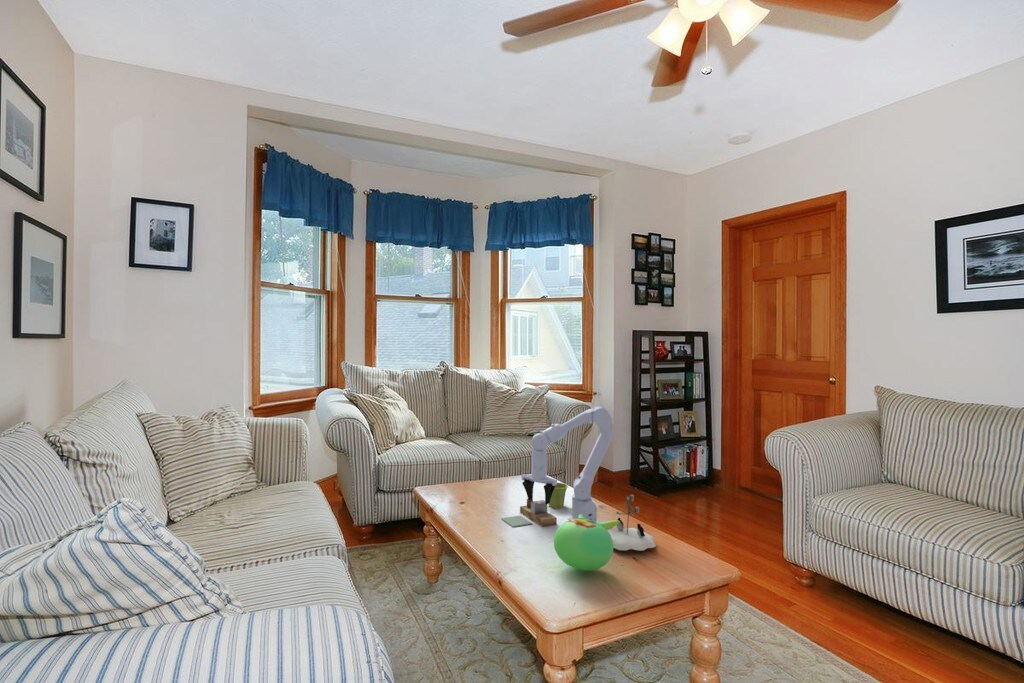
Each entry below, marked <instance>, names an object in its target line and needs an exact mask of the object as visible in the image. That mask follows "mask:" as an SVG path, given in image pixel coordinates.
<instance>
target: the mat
mask: <svg viewBox="0 0 1024 683" xmlns="http://www.w3.org/2000/svg"><path fill="white" fill-rule="evenodd" d="M501 521H503V522H504V523H506V524H507V525H509V526H510V527H511V528H517V527H525V526H529V525H533V522H531V521H530V520H528V518H525V517H523V516H522V515H514V516H507V517H501Z"/></svg>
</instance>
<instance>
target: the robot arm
mask: <svg viewBox="0 0 1024 683" xmlns="http://www.w3.org/2000/svg"><path fill="white" fill-rule="evenodd" d="M593 422H594V423H595V424H596V425H597V429H598V431H599V435H598V437H597V439H596V442H595V443H594V445H593V448H592V450H591V452H590V454H589V456H588V459H587V461H586V463H585V465H584V467H583V469H582V471H581V472H580V473H579V476H577V477H576V478H575V479H574V480H573V482H572V488H573V494H572V496H571V498H572V499H571V500H572V501H571V505H572V506H571V511H572V513H571V517H568V518H567V521H569V520H572V519H577V518H578V516H579V515H580V514H581V515H583V516H584V517H585V518H586V519H588V520H592V521H594V522H598V519H597V517H598V516H597V515H598V514H597V513H598V512H597V505H596V504H595V502H594V501H593V499H592V495H591V494H592V485H593V483H594V479H595V477H596V475H597V472H598V470H599V467H600V466H601V464H602V461H603V459H604V458H605V457H604V456H605V454H606V452H607V451H608V448H609V446H610V444H611V443H612V440H613V438H614V435H615V432H614V424H613V418H612V415H611V414H610V412H609V411H608V410H607V409H606V407H604V406H602V405H595V406H594V407H593V408H589V409H586V410H585V411H582V412H581V413H579V414H577V415H575V416H574V417H572V418H571V419H569V420H567V421H566V422H564V423H562V424H561V423H552V424H551V425H550V427H548V428H546V429H544V430H543V429H542V430H540V431H539V432H540V433H535V434H534V435H533V436H532V439H531V446H532V448H531V452H532V453H531V474H524V473H523V474H522V475H521V481H523V482H522V486H523V487H524V490H525V493H526V496H527V499H528V500H529V501H530V500H532V499H533V497H534V484H535V483H539V484H544V485H543V489H544V501H545V503H546V504H547V505H548V504H549V503H550V499H551V495H552V493H553V490H554V488H555V487H556V485H557V483H558V479H555V478H552V477H549V476H548V475H547V470H548V469H547V468H548V467H547V461H548V458H547V457H548V454H547V447H548V445H549V446H550V445H551V444H552V445H553V444H554V443H556V442H557V441H560V440H561V439H564V438H565V436H566V433H567V432H569V431H571V430H573V429H575V428H577V427H579V426H581V425H583V424H593ZM545 484H547V485H545ZM533 500H534V499H533Z"/></svg>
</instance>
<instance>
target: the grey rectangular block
mask: <svg viewBox="0 0 1024 683" xmlns="http://www.w3.org/2000/svg"><path fill="white" fill-rule="evenodd" d="M547 512H548V504H546V503H545V499H542V500H540V499H539V500H535V501H534V500H533V502H531V513H533V514H534V515H537V514H543V513H547Z"/></svg>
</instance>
